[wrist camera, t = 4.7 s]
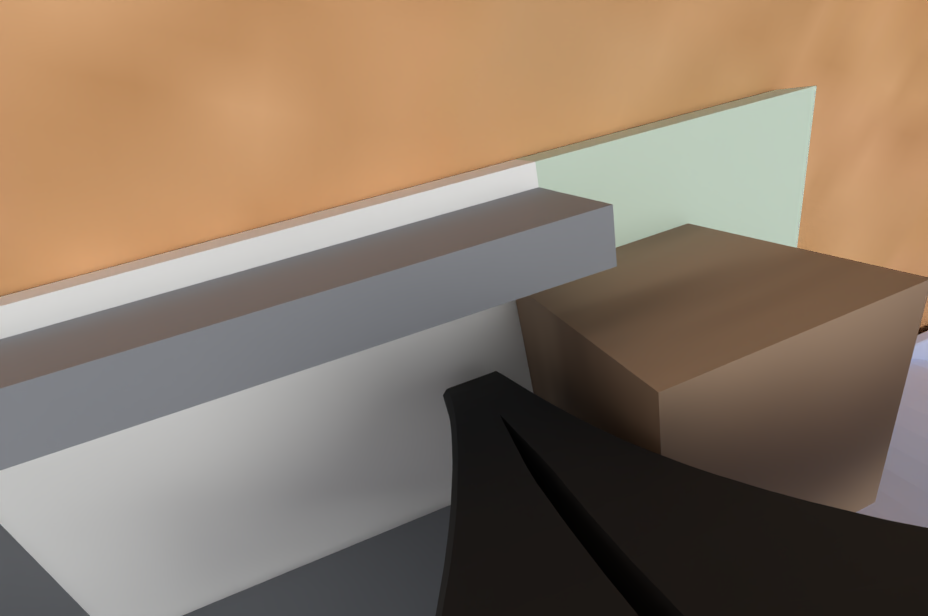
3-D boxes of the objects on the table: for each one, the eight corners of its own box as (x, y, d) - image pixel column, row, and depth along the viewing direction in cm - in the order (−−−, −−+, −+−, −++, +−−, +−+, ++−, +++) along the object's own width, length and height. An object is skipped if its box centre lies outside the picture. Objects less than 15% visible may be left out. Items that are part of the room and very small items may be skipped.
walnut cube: (688, 380, 12) (875, 502, 8) (542, 441, 11) (668, 612, 7) (688, 223, 10) (931, 278, 6) (512, 282, 9) (658, 392, 5)
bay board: (749, 390, 14) (866, 460, 11) (101, 660, 11) (10, 872, 8) (774, 90, 11) (963, 69, 7) (-216, 354, 7) (-655, 529, 4)
